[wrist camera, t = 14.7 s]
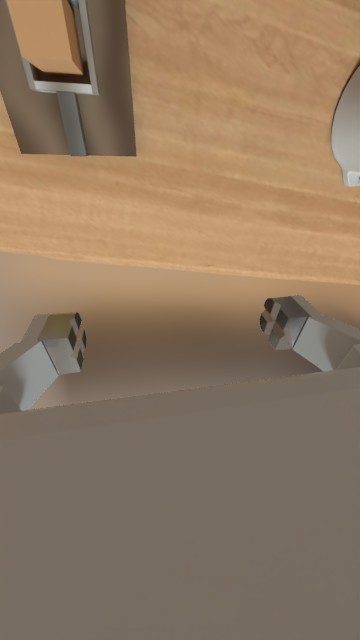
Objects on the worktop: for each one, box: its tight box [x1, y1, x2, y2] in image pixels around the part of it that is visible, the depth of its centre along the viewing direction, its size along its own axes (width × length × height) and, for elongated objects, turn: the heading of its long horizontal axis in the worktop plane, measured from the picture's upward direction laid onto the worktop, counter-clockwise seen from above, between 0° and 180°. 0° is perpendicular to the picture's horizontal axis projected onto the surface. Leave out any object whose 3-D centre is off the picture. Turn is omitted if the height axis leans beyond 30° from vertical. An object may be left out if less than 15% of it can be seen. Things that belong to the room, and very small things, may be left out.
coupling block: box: [7, 0, 85, 77], centre depth 21 cm, size 4×4×7 cm
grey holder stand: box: [0, 0, 136, 156], centre depth 23 cm, size 14×18×4 cm
